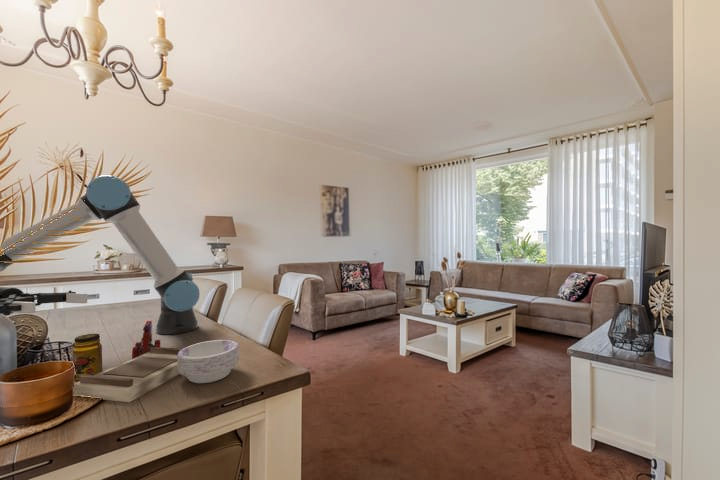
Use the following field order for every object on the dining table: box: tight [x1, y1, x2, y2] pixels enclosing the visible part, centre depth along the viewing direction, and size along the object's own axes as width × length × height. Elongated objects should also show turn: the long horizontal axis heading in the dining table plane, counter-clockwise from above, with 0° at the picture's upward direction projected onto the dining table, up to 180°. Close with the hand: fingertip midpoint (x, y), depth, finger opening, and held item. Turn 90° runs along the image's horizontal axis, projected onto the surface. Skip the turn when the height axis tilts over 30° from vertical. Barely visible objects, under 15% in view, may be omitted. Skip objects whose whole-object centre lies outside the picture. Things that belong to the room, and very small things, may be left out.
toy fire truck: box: [131, 320, 161, 359], centre depth 108 cm, size 7×12×10 cm, turn 26°
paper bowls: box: [177, 339, 240, 384], centre depth 91 cm, size 15×15×8 cm
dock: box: [74, 346, 183, 403], centre depth 91 cm, size 24×16×4 cm, turn 169°
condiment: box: [72, 333, 106, 382], centre depth 90 cm, size 7×8×12 cm
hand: (62, 302), depth 92 cm, fingers open, 13 cm apart
